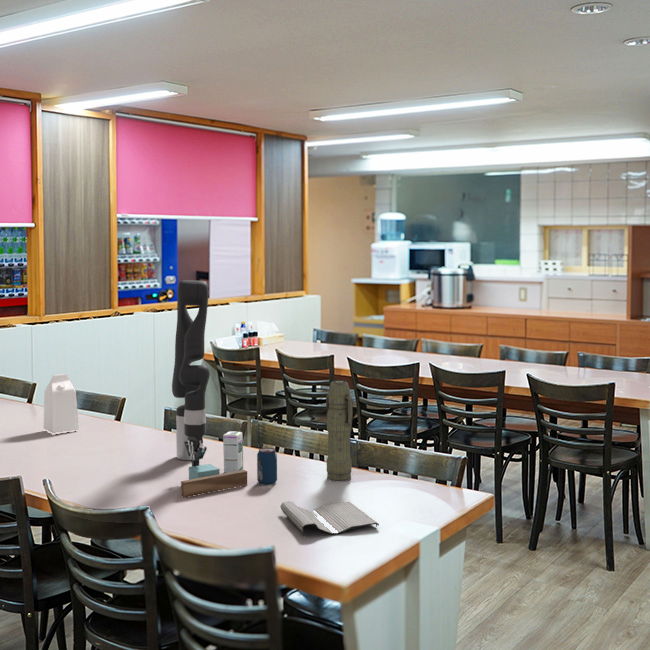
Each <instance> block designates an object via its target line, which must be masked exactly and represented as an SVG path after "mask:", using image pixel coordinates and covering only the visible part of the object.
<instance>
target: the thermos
mask: <svg viewBox="0 0 650 650" xmlns="http://www.w3.org/2000/svg"><path fill="white" fill-rule="evenodd" d="M350 389H351V388H350V386H349V383H348V382H347V381H346V380H338V379H337V380H333V381H331V382H330V384H329V388H328V393H327V394H326V397H325V404H326V405H325V406H326V409H325V410H326V411H325V412H326V416H325V419H326V431H327V437H328V438H327V439H328V440H327V453H328V454H327V455H328V456H327V458H326V475H327V476H326V479H327V480H329V481H330V480H331V482H336V481H342V482H347V481H346V480H348V481H350V480H351V479H352V467H353V466H352V465H353V462H352V458H351V432H352V426H353V418H354V417H353V415H354V413H353V407H354V406H353V405H354V404H353V398H352V396H351V394H350V393H351V390H350ZM349 479H350V480H349Z"/></svg>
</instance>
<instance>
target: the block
mask: <svg viewBox="0 0 650 650" xmlns="http://www.w3.org/2000/svg"><path fill="white" fill-rule="evenodd" d="M218 474H221V473H220V468H219V467H217V466H214V465H213V464H211V463H207V464H201V465H200V464H199V466H193V467H192V466H189V467H188V480H191V479H196V478H202V477H207V476H212V475H218Z"/></svg>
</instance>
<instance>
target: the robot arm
mask: <svg viewBox="0 0 650 650" xmlns="http://www.w3.org/2000/svg"><path fill="white" fill-rule="evenodd" d="M176 294H177V297H176V298H177V299H176V300H177V301H176V302H177V303H176V304H177V305H176V309H177V314H176V315H177V316H176V317H177V320H176V331H175V332H176V333H175V341H174V346H175V347H174V366H173V374H172V382H171V392H172V395H173V397H175V398H176V399H183V398H184V404H181V405H180V406H177V408H176V410H175V414H176V416H175V418H176V436H175V439H176V459H177V460H180V459H181V460H180V461H191V467H193V466H199V465H200V460H202V459H203V458H204V456H205V454H206V451H208V449H207V448H208V447H207V446H204V444H203V443H204V438H203V436H206V434H207V420H206V419H207V416H206V392H207V386H208V384H209V380H210V376H211V373H210V372H211V371H210V369H209V367H208V366H207V365H205V364H196V365H195V364H193V365H192V363H193V362H198V361H202V360H203V359H204V357H205V332H206V325H207V318H208V317H207V315H208V307H209V306H208V305H209V285H208V282H207V281H205V280H197V279H196V280H192V279H190V280H189V279H182V280H180V281H179V282H178V284H177V293H176ZM187 306H188V307H189V306H190V307H191V306H193V307H198V310H197V314H196V316H195V318H194V320H193V318H192V317H191V316H190V314H189V312H188V308H187Z"/></svg>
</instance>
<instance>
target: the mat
mask: <svg viewBox="0 0 650 650" xmlns="http://www.w3.org/2000/svg"><path fill="white" fill-rule="evenodd" d="M280 509H281V512H282V513H283V514H284V515H285V517H286V518H288V519H289V520H290V521H291V522H292V523H293V524H294V525H295V526H296V527H297V528H298V529H299V531H301V532H302V534H303V535H305V532H304V528H305V527H307V526H312V527H315V528H316V529H317V530H320V531H323V532H325V533H327V534H332V535H333V533H332V532H331V531H330V530H329V529H328V528H327V527H325V526H324V524H323V523H321V522H320V521H319V520H318V519H317V518H316V517H317V516H316V515H315V514H314V513H313V512H312V511H310V510H308V509H306V508H303V507H300V506H297V504H296V503H294V502H293V501H290V500H289V501H283V502H282V503H281V504H280ZM313 510H315V511H316V512H317V513H318V514H319V515H320V516H322V517H323V518H324V519H325V520H326V522H328V523H329V524H330V525H332V527H333V528H335V530H337V531H338V533H340V532H342V533H344V532H346V531H349V530H350V529H353V528H362V527H366V526H371V525H375V528H376V527H378V526H379V525H380V524H379V523H378V522H377V521H375V520H374V519H373V518H372V517H370V516H369V515H368V514H366V513H365V512H364V511H362V510H361V509H360V508H358V507H357V505H355V504H353V503H352V502H351V501H341V502H334V503H333V502H332V503H326V504H323V505H321V506H319V507H317V508H315V509H313ZM309 511H310V512H309ZM311 512H312V513H313V514H314V515H315V516H316V517H315V516H314V515H313V514H312V513H311ZM340 534H341V533H340Z"/></svg>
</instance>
